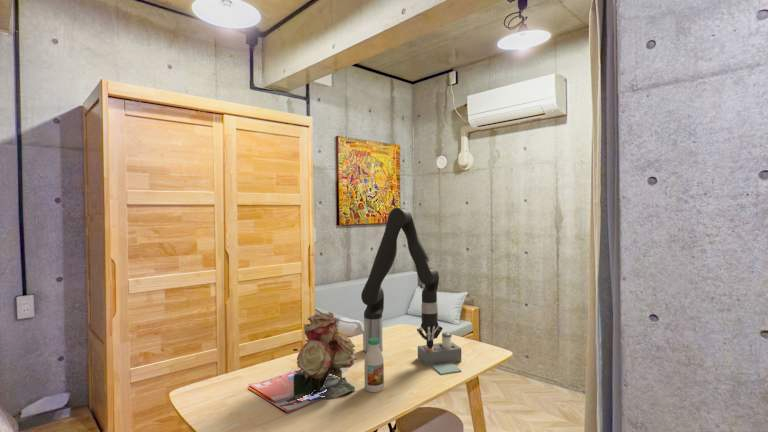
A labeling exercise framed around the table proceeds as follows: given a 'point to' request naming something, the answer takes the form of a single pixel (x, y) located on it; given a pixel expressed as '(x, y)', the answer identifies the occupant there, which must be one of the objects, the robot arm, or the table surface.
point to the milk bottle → (374, 367)
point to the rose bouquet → (323, 359)
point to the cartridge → (446, 340)
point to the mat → (446, 368)
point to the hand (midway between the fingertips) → (429, 347)
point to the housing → (439, 354)
